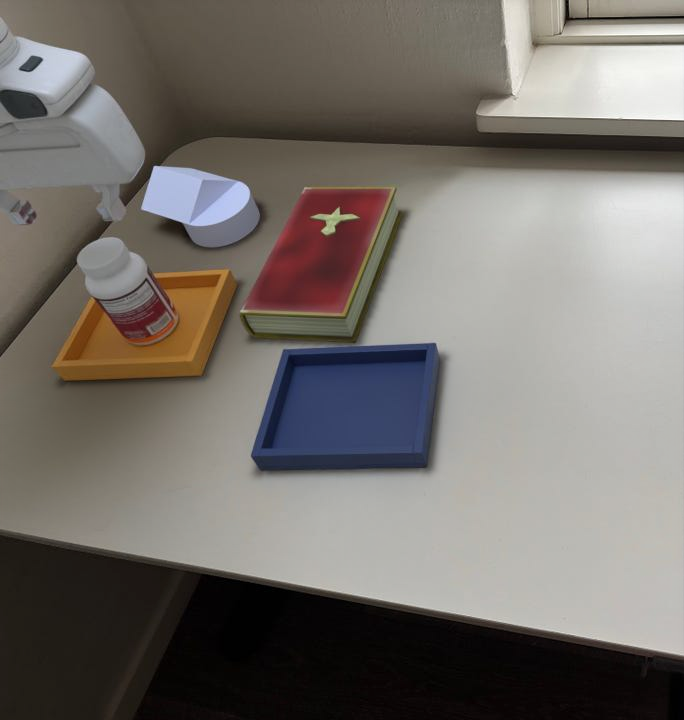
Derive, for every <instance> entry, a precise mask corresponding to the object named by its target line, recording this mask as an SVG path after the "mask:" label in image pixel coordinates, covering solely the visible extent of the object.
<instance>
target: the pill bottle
mask: <svg viewBox="0 0 684 720" xmlns="http://www.w3.org/2000/svg"><path fill="white" fill-rule="evenodd" d="M76 263H77V265H78V267H79V268H80V269H81V271H82V273H83V274H84V275H85V278H84V284H85V288H86V290H87V292H88V293H89V295H90V296H91V297H93V298H94V299H95V301H96V302H97V303H98V305H99V306H100V307H101V309H102V310H103V311H104V312H105V314H106V315H107V316H108V317H109V319H110V320H111V321H112V323H113V324H114V325H115V327H116V328H117V329H118V331H119V332H120V333H121V335H122V336H123V337H124V338H125V339H126V340H127V341H128V342H129V343H131V344H134V345H140V346H143V345H150V344H153V343H156V342H158V341H160V340H162V339H164V338H165V337H167V336H168V335H169V334H170V333H171V332H172V331H173V330H174V328H175V327H176V325H177V322H178V312H177V310H176V308H175V306H174V305H173V303H172V302H171V300H170V299H169V297H168V296H167V294H166V293H165V291H164V290H163V288H162V287H161V285H160V284H159V282H158V280H157V279H156V277H155V276H154V274H155V273H153V272H152V270H151V268H150V267H149V265H148V264H147V262H146V261H145V260H144V258H143V257H142V256H141V255H140V254H138V253H135V252H132V251H130V250H129V249H128V247H127V245H126V244H125V242H124V241H123V240H122V239H121V238H119V237H114V236H110V237H109V236H108V237H103V238H99V239H96V240H94V241H92V242H91V243H88V244H87V245H86V246H84V248H82V249H81V250H80V251H79V253H78V254H77V257H76Z"/></svg>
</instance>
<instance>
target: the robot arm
mask: <svg viewBox="0 0 684 720" xmlns="http://www.w3.org/2000/svg"><path fill="white" fill-rule="evenodd" d="M95 76H96V70H95V67H94V65H93V64H92V62H91V61H90V59H89V58H88V56H87V55H85V54H83V53H82V52H79V51H75V50H70V49H65V48H61V47H57V46H53V45H48V44H46V43H45V44H44V43H41V42H37V41H34V40H31V39H29V38H25V37H22V36H17V35H14V34H13V33H12V31H11V30H10V28H9V26H8V24H7V23H6V22H5V21H4V19H3V18H2V17H1V16H0V212H1V213H3V214H5V216H6V217H7V218H8V219H9V221H10V222H11V223H12V224H13V225H14V226H29V225H32V224H33V221H34V220H36V218H38V213H37V211H36V210H35V209H34V208H33V207H32V204H31V203H30V201H29V200H27V199H19V198H18V197H17V196H15V195H14V194H13V193H12V192H10V190H26V189H27V190H29V189H46V188H66V187H84V186H86V187H87V186H91V188H92V189H93V191H94V192H95V193H96V194H101V193H102V198H101V200H100V201H101V202H99V203H98V204H97V206H96V207H95V210H96V212H98V214H99V215H100V216H101V218H102V220H103V221H104V222H120V221H122V220H123V219H124V217H125V216H126V214H127V210H126V209H127V208H126V206H125V205H124V203H123V201H122V200H121V198H120V188H121V187H120V185H124V184H125V185H126V184H130V183H131V182H132V181H133V180H134V179H135V177H136V176H137V174H138V173H139V172H140V170H141V168H142V166H144V162H145V158H146V150H145V147H144V145H143V143H142V141H141V139H140V137H139V135H138V134H137V132H136V130H135V128H134V126H133V125H132V123H131V121H130V120H129V118H128V117H127V115H126V114H125V112H124V110H123V109H122V107H121V106H120V105H119V103H118V102H117V100H115V98H114V97H113V96H112V95H111V94H110V93H109V92H108V91H107V90H106V89H104V88H103V87H101V86H100V85H97V84H95V83H93V82H92V81H93V79H94V78H95Z"/></svg>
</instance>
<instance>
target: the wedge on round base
mask: <svg viewBox="0 0 684 720" xmlns="http://www.w3.org/2000/svg"><path fill="white" fill-rule="evenodd" d="M140 210H141V211H146V212H148V213H151V214H154V215H158V216H161V217H164V218H167V219H171V220H173V221H176V222H180V223H182V225H183V227H184V229H185V230H186V232H187V235H188V236H189V238H190V239H191V241H192V242H193V243H194V244H196V245H197V246H200V247H203V248H221V247H225V246H228V245H231V244H235V243H236V242H238V241H240V240H242V239H244V238H245V237H247V236H248V235H250V234H251V233H252V232H253V231H254V230H255V228H256V226H258V224H259V222H260V218H261V214H260V211H259V208H258V206H257V204H256V201H255V199H254V197H253V195H252V192H251V191H250V188H249V187H248V186H247V184H246V183H244V182H243V181H239V180H235V179H232V178H229V177H225V176H221V175H217V174H215V173H214V174H213V173H210V172H207V171H203V170H198V169H197V168H196V169H195V168H193V167H180V166H179V167H177V166H161V165H154V166H153V168H152V171H151V175H150V178H149V182H148V184H147V188H146V191H145V194H144V198H143V201H142V204H141V208H140Z"/></svg>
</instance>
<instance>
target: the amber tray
mask: <svg viewBox="0 0 684 720" xmlns="http://www.w3.org/2000/svg"><path fill="white" fill-rule="evenodd" d="M153 274H154V276H155V277H156V279H157V280H158V282H159V284H160V285H161V287H162V288H163V290H164V291H165V293H166V294H167V296H168V297H169V299H170V300H171V302H172V303H173V305H174V306H175V308H176V310H177V312H178V322H177V325H176V327H175V328H174V330H173V331H172V332H171V333H170V334H169V335H168V336H167V337H165V338H164V339H162V340H160V341H158V342H156V343H153V344H150V345H143V346H140V345H134V344H131V343H129V342H128V341H127V340H126V339H125V338H124V337H123V336H122V335H121V333H120V332H119V331H118V329H117V328H116V327H115V325H114V324H113V323H112V321H111V320H110V319H109V317H108V316H107V315H106V314H105V312H104V311H103V310H102V309H101V307H100V306H99V305H98V303H97V302H96V301H95V299H94V298H93V297H92V296H91V297H90V299H89V300H88V302H87V303H86V305H85V307H84V309H83V311H82V312H81V314H80V317H79V318H78V320H77V321H76V324H75V325H74V327H73V328H72V330H71V332H70V334H69V336H68V337H67V339H66V340H65V342H64V344H63V346H62V347H61V349H60V351H59V353H58V355H57V356H56V358H55V360H54V361H53V364H52V365H51V368H52V369H53V370H54V371H55V372H56V373H57V375H59V376H60V377H61V378H62V380H63V381H65V382H67V381H68V382H70V381H71V382H72V381H93V380H120V379H122V380H123V379H145V378H147V379H148V378H170V377H171V378H173V377H174V378H175V377H177V378H178V377H201V376H203V373H204V371H205V368H206V365H207V364H208V360H209V358H210V356H211V353H212V350H213V348H214V345H215V343H216V341H217V337H218V335H219V332H220V330H221V328H222V325H223V322H224V320H225V318H226V315H227V312H228V310H229V307H230V305H231V302H232V299H233V297H234V294H235V292H236V289H237V286H238V281H236V278H235V276H234V275H233V273H232V271H231V269H229V268H227V269H226V268H225V269H209V270H208V269H207V270H192V271H176V272H175V271H174V272H159V273H158V272H157V273H153Z"/></svg>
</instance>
